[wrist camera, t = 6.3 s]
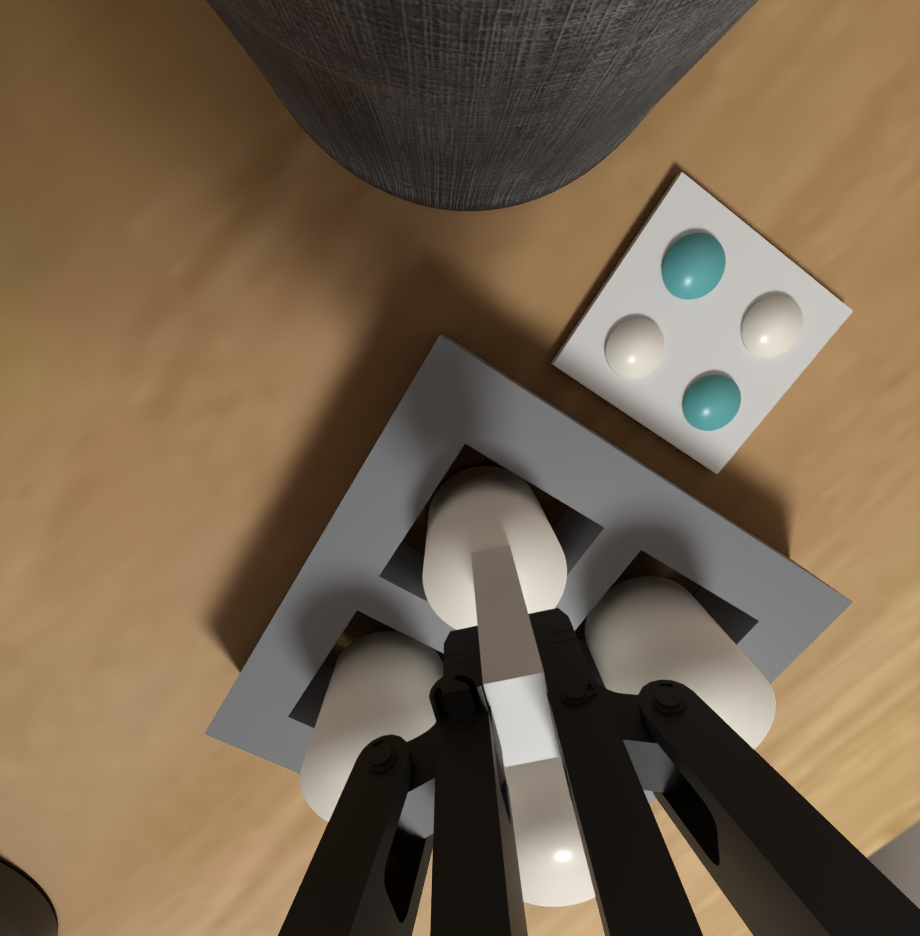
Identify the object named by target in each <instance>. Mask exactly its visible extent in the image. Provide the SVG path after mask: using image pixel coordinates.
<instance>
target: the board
mask: <svg viewBox="0 0 920 936" xmlns="http://www.w3.org/2000/svg"><path fill="white" fill-rule="evenodd" d="M464 444H467V445H468V446H470V447H472V448H473V449H475V450H477V451H478V452H480V453H482V454H483V455H485V456H487V457H488V458H490V459H492V460H493V461H495V462H497V463H498V464H500V465H502V466H503V467H505V468H507V469H508V470H510V471H511V472H513V473H515V474H516V475H518V476H520V477H521V478H523V479H525V480H526V481H528V482H530V483H531V484H533V485H535V486H536V487H538V488H540V489H541V490H543V491H545V492H546V493H548V494H550V495H551V496H553V497H555V498H556V499H558V500H560V501H561V502H563V503H564V504H566V505H568V506H569V508H568V509H567V511H566V512H565V513H564V515H563V516H562V517H561V519H560V520H559V521H558V523H557V524H556V525H555V527H554V528H553V531H554V533H555V535H556V537H557V539H558V541H559V543H560V545H561V548H562V550H563V552H564V555H565V559H566V564H567V580H566V585H565V589H564V592H563V595H562V597H561V599H560V601H559V603H558V604H557V606H556V607H555V608H559V609H560V610H561V611H563V612H564V613H565V614H566V615H568V616H569V619H570V621H571V623H572V626H573V629H574V631H575V630H576V629H577V627H578V626H579V625H580V624H581V622H582V621H583V620H584V619H585V618H586V616H587V615H588V614H589V613H590V611H591V610H592V609H593V608H594V607H595V605H596V604H597V603H598V602H599V601H600V599H601V598H602V597H603V596H604V594H605V593H606V592H607V591H608V590H609V588H610V587H611V586H612V585H613V583H614V582H615V581H616V580H617V579H618V577H619V576H620V575H621V574H622V572H623V571H624V570H625V569H626V568H627V566H628V565H629V564H630V563H631V561H632V560H633V559H634V558H635V557H636V555H637V554H638V553H639V552H640V551H641V550H642V551H644V552H646V553H647V554H649V555H651V556H652V557H654V558H656V559H657V560H659V561H661V562H662V563H664V564H666V565H667V566H669V567H670V568H672V569H674V570H675V571H677V572H679V573H680V574H682V575H684V576H685V577H687V578H689V579H690V580H692V581H694V582H695V583H697V584H699V585H700V586H702V587H701V588H700V589H699V590H698V591H697V592H696V593H695V594H694V596H693V597H694V598H695V599H696V600H697V601H698V603H699V604H700V605H701V606H702V607H703V608H704V609H705V610H706V612H707V613H708V614H709V615H710V616H711V617H712V618H713V619H714V621H715V622H716V623H717V624H718V625H719V626H720V627H721V628H722V629H723V631H724V632H725V633H726V634H727V635H728V636H729V637H730V638H731V640H732V641H733V642H734V643H735V644H736V645H737V646H738V647H739V649H740V650H741V651H742V652H743V653H744V654H745V655H746V656H747V658H748V659H749V660H750V661H751V662H752V663H753V664H754V665H755V667H756V668H757V669H758V670H759V671H760V672H761V673H762V674H763V676H764V677H765V678H766V679H767V681H768V682H769V683H770V684H771V683H772V682H773V681H774V680H775V679H776V678H777V677H778V676H779V675H780V674H781V673H782V672H783V671H784V670H785V669H786V668H787V667H788V666H789V665H790V664H791V663H792V662H793V661H794V660H795V659H796V658H797V657H798V656H799V655H800V654H801V653H802V652H803V651H804V650H805V649H806V648H807V647H808V646H809V645H810V644H811V643H812V642H813V641H814V640H815V639H816V638H817V637H818V636H819V635H820V634H821V633H822V632H823V631H824V630H825V629H826V628H827V627H828V626H829V625H830V624H831V623H832V622H833V621H834V620H835V619H836V618H837V617H838V616H839V615H840V614H841V613H842V612H843V611H844V610H845V609H846V608H847V607H848V606H849V605H850V604H851V603H852V601H851V600H849V599H848V598H846V597H845V596H843V595H842V594H840V593H839V592H838V591H836V590H835V589H833V588H832V587H830V586H829V585H827V584H826V583H825V582H823V581H822V580H820V579H819V578H817V577H816V576H815V575H813V574H812V573H810V572H809V571H807V570H806V569H804V568H803V567H802V566H800V565H799V564H797V563H796V562H794V561H793V560H791V559H790V558H788V557H787V556H785V555H784V554H782V553H781V552H779V551H778V550H776V549H775V548H773V547H771V546H770V545H768V544H767V543H765V542H764V541H762V540H761V539H759V538H758V537H756V536H755V535H753V534H751V533H750V532H748V531H747V530H745V529H744V528H742V527H741V526H739V525H738V524H736V523H734V522H733V521H731V520H730V519H728V518H727V517H725V516H724V515H722V514H721V513H719V512H717V511H716V510H714V509H713V508H711V507H710V506H708V505H707V504H705V503H704V502H702V501H701V500H699V499H697V498H696V497H694V496H693V495H691V494H690V493H688V492H687V491H685V490H684V489H682V488H680V487H679V486H677V485H676V484H674V483H673V482H671V481H670V480H668V479H667V478H665V477H664V476H662V475H660V474H659V473H657V472H656V471H654V470H653V469H651V468H650V467H648V466H647V465H645V464H643V463H642V462H640V461H639V460H637V459H636V458H634V457H633V456H631V455H630V454H628V453H627V452H625V451H623V450H622V449H620V448H619V447H617V446H616V445H614V444H613V443H611V442H610V441H608V440H606V439H605V438H603V437H602V436H600V435H599V434H597V433H596V432H594V431H593V430H591V429H590V428H588V427H586V426H585V425H583V424H582V423H580V422H579V421H577V420H576V419H574V418H573V417H571V416H569V415H568V414H566V413H565V412H563V411H562V410H560V409H559V408H557V407H556V406H554V405H553V404H551V403H549V402H548V401H546V400H545V399H543V398H542V397H540V396H539V395H537V394H536V393H534V392H532V391H531V390H529V389H528V388H526V387H525V386H523V385H522V384H520V383H519V382H517V381H516V380H514V379H512V378H511V377H509V376H508V375H506V374H505V373H503V372H502V371H500V370H499V369H497V368H495V367H494V366H492V365H491V364H489V363H488V362H486V361H485V360H483V359H482V358H480V357H479V356H477V355H475V354H474V353H472V352H471V351H469V350H468V349H466V348H465V347H463V346H462V345H460V344H458V343H457V342H455V341H454V340H452V339H451V338H449V337H448V336H446V335H445V334H443V333H442V332H441V334H440V335H439V337H438V339H437V340H436V342H435V344H434V346H433V347H432V349H431V351H430V352H429V354H428V356H427V357H426V359H425V361H424V362H423V364H422V366H421V368H420V369H419V371H418V373H417V374H416V376H415V378H414V379H413V381H412V383H411V384H410V386H409V388H408V390H407V391H406V393H405V395H404V396H403V398H402V400H401V401H400V403H399V405H398V407H397V408H396V410H395V412H394V413H393V415H392V417H391V418H390V420H389V422H388V423H387V425H386V427H385V429H384V430H383V432H382V434H381V435H380V437H379V439H378V440H377V442H376V444H375V445H374V447H373V449H372V451H371V452H370V454H369V456H368V457H367V459H366V461H365V462H364V464H363V466H362V468H361V469H360V471H359V473H358V474H357V476H356V478H355V479H354V481H353V483H352V484H351V486H350V488H349V490H348V491H347V493H346V495H345V496H344V498H343V500H342V501H341V503H340V505H339V506H338V508H337V510H336V512H335V513H334V515H333V517H332V518H331V520H330V522H329V523H328V525H327V527H326V529H325V530H324V532H323V534H322V535H321V537H320V539H319V540H318V542H317V544H316V545H315V547H314V549H313V551H312V552H311V554H310V556H309V557H308V559H307V561H306V562H305V564H304V566H303V567H302V569H301V571H300V573H299V574H298V576H297V578H296V579H295V581H294V583H293V584H292V586H291V588H290V590H289V591H288V593H287V595H286V596H285V598H284V600H283V601H282V603H281V605H280V606H279V608H278V610H277V612H276V613H275V615H274V617H273V618H272V620H271V622H270V623H269V625H268V627H267V628H266V630H265V632H264V634H263V635H262V637H261V639H260V640H259V642H258V644H257V645H256V647H255V649H254V651H253V652H252V654H251V656H250V657H249V659H248V661H247V662H246V664H245V666H244V667H243V669H242V671H241V673H240V674H239V676H238V678H237V679H236V681H235V683H234V684H233V686H232V688H231V689H230V691H229V693H228V695H227V696H226V698H225V700H224V701H223V703H222V705H221V706H220V708H219V710H218V712H217V713H216V715H215V717H214V718H213V720H212V722H211V723H210V725H209V727H208V728H207V730H206V732H205V734H206V735H209V736H211V737H213V738H216V739H218V740H221V741H223V742H225V743H228V744H230V745H233V746H235V747H237V748H240V749H242V750H245V751H247V752H249V753H252V754H254V755H257V756H259V757H261V758H264V759H266V760H269V761H271V762H273V763H276V764H278V765H281V766H283V767H285V768H288V769H290V770H293V771H295V772H297V773H300V772H301V768H302V765H303V762H304V759H305V755H306V752H307V749H308V746H309V743H310V740H311V737H312V734H313V731H314V728H315V725H316V722H317V719H318V716H319V713H320V710H321V707H322V704H323V701H324V698H325V695H326V692H327V689H328V686H329V683H330V680H331V677H332V674H333V671H334V669H333V668H330V667H328V666H326V665H324V664H322V663H323V662H324V660H325V659H326V657H327V656H328V654H329V653H330V651H331V649H332V648H333V646H334V645H335V643H336V642H337V640H338V639H339V637H340V636H341V634H342V633H343V631H344V629H345V628H346V626H347V625H348V623H349V622H350V620H351V619H352V617H353V616H354V614H355V612H356V611H357V610H358V611H360V612H362V613H364V614H366V615H368V616H370V617H372V618H374V619H376V620H378V621H380V622H382V623H384V624H386V625H388V626H390V627H392V628H393V629H395V630H397V631H399V632H401V633H403V634H405V635H407V636H409V637H411V638H413V639H415V640H417V641H419V642H421V643H423V644H425V645H427V646H429V647H431V648H433V649H435V650H437V651H439V652H441V653H443V654H444V642H445V640H446V638H447V636H448V634H449V633H450V631H454V630H456V629H454V628H453V627H451V626H449V625H448V624H447V623H445V622H444V621H443V620H442V619H441V618H440V617H439V616H438V615H437V614H436V613H435V611H434V610H433V609H432V607H431V606H430V604H429V602H428V600H427V597H426V595H425V592H424V587H423V577H422V575H423V565H424V555H425V554H424V553H422V552H420V551H418V550H416V549H414V548H412V547H411V546H409V545H407V544H405V543H403V542H402V540H403V538H404V537H405V535H406V534H407V532H408V531H409V529H410V528H411V526H412V525H413V523H414V521H415V520H416V518H417V517H418V515H419V514H420V512H421V511H422V509H423V508H424V506H425V505H426V503H427V501H428V500H429V498H430V497H431V495H432V494H433V492H434V491H435V489H436V488H437V486H438V484H439V483H440V481H441V480H442V478H443V477H444V475H445V474H446V472H447V471H448V469H449V468H450V466H451V464H452V463H453V461H454V460H455V458H456V457H457V455H458V454H459V452H460V451H461V449H462V447H463V446H464ZM577 639H578V641H579V643H580V646H581V648H582V651H583V653H584V656H585V658H586V661H587V663H588V666H589V668H590V671H591V673H592V675H593V677H594V679H595V680H596V681H597V682H598V683H599V684H600V685H601V686H603V687H605V685H604V683H603V680H602V678H601V676H600V674H599V671H598V669H597V667H596V664H595V662H594V660H593V657H592V655H591V653H590V650H589V648H588V646H587V643H586V641H584V640H582V639H580V638H579V637H577ZM605 688H606V687H605ZM644 793H645V795H646V798H647V800H648V803H649V804H650V803H651V802H652V801H653V800H654V799H655V798H656V797H655V796H654V794H653V791H648V790H644Z"/></svg>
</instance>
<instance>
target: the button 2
mask: <svg viewBox="0 0 920 936" xmlns="http://www.w3.org/2000/svg"><path fill="white" fill-rule="evenodd" d="M507 545H510V548H511V552H512V555H513V559H514V563H515V566H516V570H517V574H518V578H519V581H520V585H521V589H522V592H523V596H524V600H525V604H526V607H527V611H528V614H530V613H535V612H540V611H545V610H550V609H554V608H555V607H556V606H557V604H558V603H559V601H560V599H561V597H562V595H563V592H564V589H565V585H566V580H567V564H566V559H565V555H564V552H563V550H562V548H561V545H560V543H559V541H558V539H557V537H556V535H555V533H554V531H553V529H552V527H551V525H550V523H549V521H548V519H547V517H546V515H545V513H544V511H543V509H542V507H541V505H540V503H539V501H538V499H537V497H536V495H535V494H534V492H533V490H532V489H531V487H530V486H529V485H528V484H527V483H526V482H525V481H524V480H523V479H522V478H521V477H519V476H518V475H516V474H515V473H513V472H511V471H509V470H506V469H503V468H499V467H495V466H477V467H472V468H468V469H465V470H463V471H460V472H458V473H456V474H455V475H453V476H451V477H450V478H449V479H448V480H446V481H445V482H444V483H443V484H442V485H441V486H440V488H439V489H438V490H437V492H436V494H435V495H434V497H433V499H432V502H431V505H430V509H429V516H428V526H427V536H426V545H425V555H424V565H423V575H422V577H423V587H424V592H425V595H426V597H427V600H428V602H429V604H430V606H431V607H432V609H433V610H434V611H435V613H436V614H437V615H438V616H439V617H440V618H441V619H442V620H443V621H444V622H445V623H447V624H448V625H449V626H451V627H453V628H454V629H456V630H458V629H463V628H468V627H473V626H478V625H477V614H476V603H475V592H474V581H473V570H472V559H471V553H474V552H479V551H483V550H488V549H493V548H497V547H502V546H507Z"/></svg>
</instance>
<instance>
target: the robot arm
mask: <svg viewBox="0 0 920 936" xmlns="http://www.w3.org/2000/svg"><path fill="white" fill-rule="evenodd" d="M471 559H472V570H473V581H474V592H475V603H476V614H477V625H478V626H473V627H468V628H463V629H458V630H454V631H450V633H449V634H448V636H447V638H446V640H445V642H444V658H443V666H444V668H443V677H442V678H440V679H439V680H437V681H436V683H435V684H434V685H433V686H432V688H431V690H430V694H429V700H430V703H431V706H432V709H433V712H434V716H435V719H436V723H435V724H434V725H433V726H432V727H431V728H430V729H429V730H428V731H426V732H425V733H423V734H421V735H420V736H418V737H416V738H414V739H412V740H410V741H408V742H406V741H405V740H404V739H403V738H402V737H401V736H397V735H393V734H390V735H384V736H381V737H379V738H377V739H375V740H373V741H371V742H370V743H369V744H368V745H367V746H366V747H364V748H363V750H362V751H361V753H360V754H359V756H358V758H357V760H356V762H355V764H354V766H353V769H352V771H351V773H350V775H349V777H348V780H347V782H346V784H345V786H344V789H343V791H342V793H341V795H340V798H339V800H338V802H337V804H336V807H335V809H334V811H333V813H332V816H331V818H330V820H329V822H328V825H327V827H326V829H325V831H324V834H323V836H322V838H321V840H320V843H319V845H318V847H317V849H316V851H315V854H314V856H313V858H312V860H311V863H310V865H309V867H308V869H307V872H306V874H305V876H304V878H303V881H302V883H301V885H300V887H299V890H298V892H297V894H296V896H295V899H294V901H293V903H292V905H291V908H290V910H289V912H288V914H287V917H286V919H285V921H284V923H283V925H282V928H281V930H280V932H279V934H278V936H412V932H413V928H414V924H415V920H416V916H417V911H418V907H419V903H420V899H421V895H422V890H423V886H424V882H425V878H426V874H427V869H428V865H429V861H430V857H431V852H432V848H433V864H432V898H431V932H430V936H528V934H527V926H526V919H525V911H524V903H523V895H522V888H521V880H520V872H519V864H518V857H517V849H516V841H515V833H514V826H513V818H512V810H511V802H510V795H509V788H508V784H507V780H506V776H505V771H504V766H505V767H508V766H513V765H518V764H524V763H529V762H534V761H539V760H544V759H550V758H555V757H560V756H561V759H562V763H563V768H564V773H565V777H566V782H567V787H568V792H569V796H570V799H571V801H572V805H573V809H574V813H575V817H576V821H577V825H578V829H579V833H580V837H581V841H582V845H583V849H584V853H585V857H586V861H587V865H588V869H589V873H590V877H591V881H592V885H593V889H594V893H595V897H596V901H597V905H598V909H599V913H600V917H601V921H602V925H603V929H604V933H605V936H703V934H702V932H701V929H700V927H699V924H698V922H697V919H696V917H695V915H694V912H693V910H692V907H691V905H690V902H689V900H688V898H687V895H686V893H685V890H684V888H683V885H682V883H681V880H680V878H679V876H678V873H677V871H676V868H675V866H674V863H673V861H672V859H671V856H670V854H669V851H668V849H667V846H666V844H665V842H664V839H663V837H662V834H661V832H660V829H659V827H658V824H657V822H656V820H655V817H654V815H653V812H652V810H651V807H650V805H649V803H648V800H647V798H646V795H645V793H644V790H648V791H653V794H654V796H655V797H656V798H657V800H658V801H659V803H660V804H661V805H662V807H663V808H664V810H665V811H666V813H667V814H668V815H669V817H670V818H671V820H672V821H673V822H674V824H675V825H676V827H677V828H678V829H679V831H680V832H681V834H682V835H683V837H684V838H685V839H686V841H687V842H688V844H689V845H690V846H691V848H692V849H693V851H694V852H695V854H696V855H697V856H698V858H699V859H700V861H701V862H702V863H703V865H704V866H705V868H706V869H707V870H708V872H709V873H710V875H711V876H712V878H713V879H714V880H715V882H716V883H717V885H718V886H719V887H720V889H721V890H722V892H723V893H724V894H725V896H726V897H727V899H728V900H729V902H730V903H731V904H732V906H733V907H734V909H735V910H736V911H737V913H738V914H739V916H740V917H741V918H742V920H743V921H744V923H745V924H746V926H747V927H748V928H749V930H750V931H751V933H752V934H753V935H754V936H920V909H919V908H918V907H917V906H916V905H915V904H914V903H913V902H911V901H910V900H909V899H908V898H907V897H906V896H905V895H904V894H903V893H902V892H901V891H900V890H899V889H898V888H897V887H896V886H895V885H894V884H893V883H892V882H891V881H890V880H888V878H886V876H884V875H883V874H882V873H881V872H880V871H879V870H878V869H877V868H876V867H875V866H874V865H873V864H872V863H871V862H870V861H869V860H868V859H867V858H866V857H865V856H864V855H863V854H862V853H861V852H860V851H859V850H858V849H857V848H856V847H854V846H853V845H852V844H851V843H850V842H849V841H848V840H847V839H846V838H845V837H844V836H843V835H842V834H841V833H840V832H839V831H838V830H837V829H836V828H835V827H834V826H833V825H832V824H831V823H830V822H829V821H828V820H826V819H825V818H824V817H823V816H822V815H821V814H820V813H819V812H818V811H817V810H816V809H815V808H814V807H813V806H812V805H811V804H810V803H809V802H808V801H807V800H806V799H805V798H804V797H803V796H802V795H801V794H800V793H798V792H797V791H796V790H795V789H794V788H793V787H792V786H791V785H790V784H789V783H788V782H787V781H786V780H785V779H784V778H783V777H782V776H781V775H780V774H779V773H778V772H777V771H776V770H775V769H774V768H773V767H772V766H770V765H769V764H768V763H767V762H766V761H765V760H764V759H763V758H762V757H761V756H760V755H759V754H758V753H757V752H756V751H755V750H754V749H753V748H752V747H751V746H750V745H749V744H748V743H747V742H746V741H745V740H744V739H742V738H741V737H740V736H739V735H738V734H737V733H736V732H735V731H734V730H733V729H732V728H731V727H730V726H729V725H728V724H727V723H726V722H725V721H724V720H723V719H722V718H721V717H720V716H719V715H718V714H717V713H716V712H714V711H713V710H712V709H711V708H710V707H709V706H708V705H707V704H706V703H705V702H704V701H703V700H702V699H701V698H700V697H699V696H698V695H697V694H696V693H695V692H694V691H693V690H691V689H690V688H688V687H687V686H685V685H684V684H682V683H679V682H676V681H673V680H661V679H660V680H656V681H652V682H649V683H648V684H646V685H645V686H643V687H642V689H641V690H640V692H639V694H638V695H634V694H623V693H617V692H613V691H611V690H608V689H606V688H605V687H603V686H601V685H600V684H599V683H598V682H597V681H596V680H595V679H594V677H593V675H592V673H591V671H590V668H589V666H588V663H587V661H586V658H585V656H584V653H583V651H582V648H581V646H580V643H579V641H578V639H577V636H576V633H575V631H574V629H573V626H572V623H571V621H570V619H569V616H568V615H566V614H565V613H564V612H563V611H561V610H560V609H559V608H554V609H550V610H545V611H540V612H535V613H530V614H528V611H527V607H526V604H525V600H524V596H523V592H522V589H521V585H520V581H519V578H518V574H517V570H516V566H515V563H514V559H513V555H512V552H511V548H510V545H507V546H502V547H497V548H493V549H488V550H483V551H479V552H474V553H471ZM503 762H504V763H503ZM57 933H58V930H57V922H56V919H55V915H54V913H53V911H52V909H51V907H50V905H49V903H48V902H47V900H46V899H45V898H44V896H43V895H42V894H41V893H40V892H39V891H38V890H37V889H36V888H35V887H34V886H33V885H32V884H31V883H30V882H29V881H28V880H27V879H25V878H24V877H23V876H21V875H20V874H19V873H17V872H16V871H14V870H13V869H11V868H9V867H8V866H6V865H4V864H2V863H0V936H57Z"/></svg>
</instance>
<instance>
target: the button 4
mask: <svg viewBox="0 0 920 936" xmlns="http://www.w3.org/2000/svg"><path fill="white" fill-rule="evenodd" d="M585 639H586V643H587V646H588V648H589V650H590V653H591V655H592V657H593V660H594V662H595V664H596V667H597V669H598V671H599V674H600V676H601V678H602V680H603V683H604V685H605V687H606V689H608V690H611V691H613V692H617V693H623V694H634V695H638V694H639V692H640V690H641V689H642V687H643V686H645V685H646V684H648V683H649V682H652V681H656V680H660V679H661V680H673V681H676V682H679V683H682V684H684V685H685V686H687V687H688V688H690V689H691V690H693V691H694V692H695V693H696V694H697V695H698V696H699V697H700V698H701V699H702V700H703V701H704V702H705V703H706V704H707V705H708V706H709V707H710V708H711V709H712V710H713V711H714V712H716V713H717V714H718V715H719V716H720V717H721V718H722V719H723V720H724V721H725V722H726V723H727V724H728V725H729V726H730V727H731V728H732V729H733V730H734V731H735V732H736V733H737V734H738V735H739V736H740V737H741V738H742V739H744V740H745V741H746V742H747V743H748V744H749V745H750V746H751V747H752V748H753V749H755V748H756V747H757V746H758V745H759V744H760V743H761V742H762V740H763V739H764V738H765V736H766V735H767V733H768V731H769V730H770V728H771V725H772V723H773V720H774V716H775V710H776V702H775V695H774V692H773V689H772V687H771V685H770V683H769V682H768V681H767V679H766V678H765V677H764V676H763V674H762V673H761V672H760V671H759V670H758V669H757V668H756V667H755V665H754V664H753V663H752V662H751V661H750V660H749V659H748V658H747V656H746V655H745V654H744V653H743V652H742V651H741V650H740V649H739V647H738V646H737V645H736V644H735V643H734V642H733V641H732V640H731V638H730V637H729V636H728V635H727V634H726V633H725V632H724V631H723V629H722V628H721V627H720V626H719V625H718V624H717V623H716V622H715V621H714V619H713V618H712V617H711V616H710V615H709V614H708V613H707V612H706V610H705V609H704V608H703V607H702V606H701V605H700V604H699V603H698V601H697V600H696V599H695V598H694V597H693V596H692V595H691V594H690V592H689V591H688V590H687V589H685V588H684V587H683V586H682V585H680V584H679V583H677V582H675V581H673V580H670V579H667V578H663V577H657V576H642V577H636V578H632V579H628V580H626V581H623V582H621V583H619V584H617V585H615V586H613V587H612V588H610V589H609V590H608V591H607V592H606V593H605V594H604V596H603V597H602V598H601V599H600V601H599V602H598V603H597V604H596V605H595V607H594V608H593V609H592V610H591V611H590V613H589V614H588V617H587V619H586V624H585Z"/></svg>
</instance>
